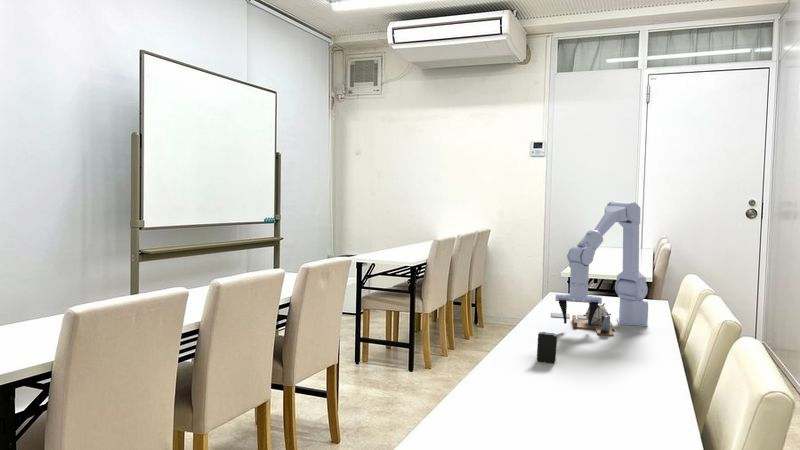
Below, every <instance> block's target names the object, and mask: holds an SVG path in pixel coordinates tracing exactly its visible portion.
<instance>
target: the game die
mask: <svg viewBox="0 0 800 450" xmlns="http://www.w3.org/2000/svg"><path fill="white" fill-rule="evenodd" d="M582 315H583V316H586V318H587V319H588V318H589V307H588V308H587V311H586V312H585V314H582ZM601 315H608V316H611V315H612V314H611V313H609V312H608V311H607V309H606V307H605V302H604V303H602V304H598V308H597V310H596V311H595V313H594V315H593V318H592V321H591V325H601Z"/></svg>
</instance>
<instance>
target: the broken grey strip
mask: <svg viewBox="0 0 800 450" xmlns="http://www.w3.org/2000/svg"><path fill="white" fill-rule="evenodd" d="M550 314H551V315H550V316H551V318H555V319H556V318H557V319H564V317H563V313H562V312H560V313H559V312H551V313H550ZM576 315H577V316H576V317H577V319H581V320H588V319H587V318H586V316H583V315H584V314H576ZM567 319H568V320H569V319H571V317H570V313H566V320H567Z"/></svg>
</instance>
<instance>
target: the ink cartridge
mask: <svg viewBox="0 0 800 450" xmlns="http://www.w3.org/2000/svg"><path fill="white" fill-rule="evenodd" d="M557 346H558V334H557V333H555V332H546V331H542V332H540V331H539V332H538V334H537V349H536V361H537V363H546V364H552V365H553V364H555V363H556V360H557Z"/></svg>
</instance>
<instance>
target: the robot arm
mask: <svg viewBox="0 0 800 450" xmlns="http://www.w3.org/2000/svg"><path fill="white" fill-rule="evenodd" d="M616 223H618V224H619V225H620V226H621V227H622V271H621V272H620V273H618V274H617V275H616V282H615V285H614V290H615V293H616V294H617V297H618V298H619V307H618V309H619V311H618V312H619V313H618V318H616V321H617V323H618V324H619V325H622V326H623V325H624V326H625V325H626V326H635V327H636V326H637V327H638V326H639V327H648V326H649V324H648V322H649V301H648V299H645V298H646V296H647V294H648V291H649V290H648V289H649V288H648V284H647V277H645V275H643V273H641V272H640V225H641V207H640V206H639V204H638V203H636V202H635V201H614V200H611V201H609V202H608V203H607V205H606V206H605V207H604V214H603V216H601V219H600V220H599V222H598V224H597V225H596V226H595V227H594V229H590V230H588V231H586V233H585V235H584V236H583V237H582V238H581V240H579V242H578V243H577V245H575V246H572V247H571V248H570V249H569V250H568V252H567V254H566V257H567V258H566V259H567V261H568V263H569V264H568V267H569V268H570V271H569V273H570V275H569V294H555V302H558V305H559V307H560V309H561V313H562V314H563V317H564V318H563V324H567V321H568V320H567V318H566V314H567V311H568V310H567V308H568V306H567V305H568V303H567V302H572V303H584V304H585V303H587V304H588V308H589V318H588V325H591V321H592V318H593V315H594V313H595V311H596V310H597V308H598V305H603V298H602V297H601V296H593V295H589V293H588V292H589V291H588V290H589V272H590V271H589V270H590V264H592V263H593V262H594V257H595V254H596V251H597V249H598V248H599V247H600V246H601V245H602V243H603V242H604V238H603V236H605V234H607V232H608V231H609V230H610V229H611V228H612V227H613V226H614V225H615V224H616Z"/></svg>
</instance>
